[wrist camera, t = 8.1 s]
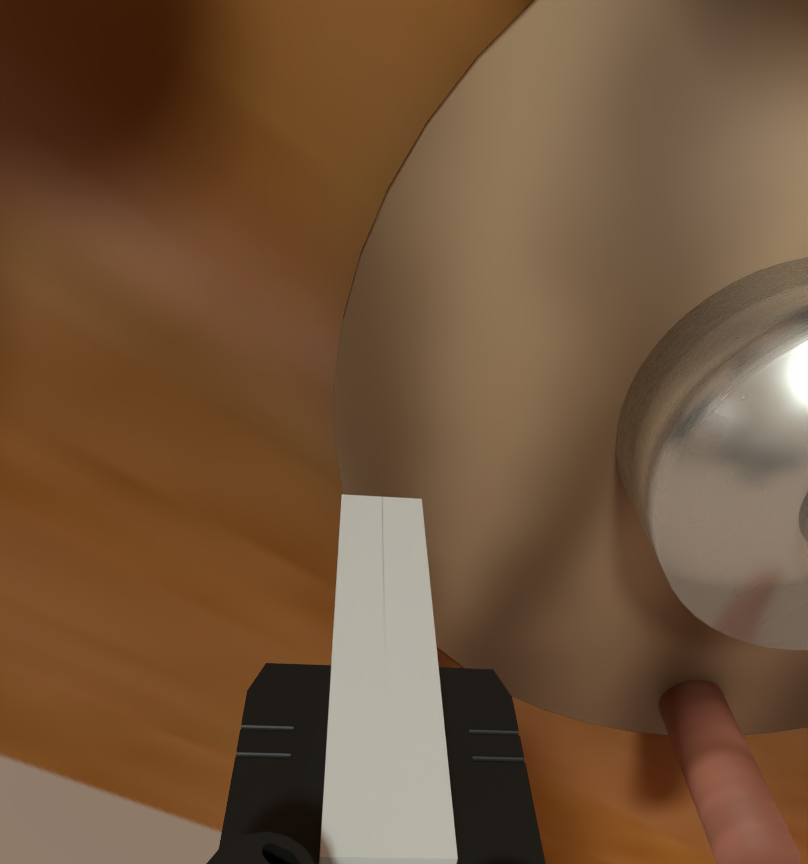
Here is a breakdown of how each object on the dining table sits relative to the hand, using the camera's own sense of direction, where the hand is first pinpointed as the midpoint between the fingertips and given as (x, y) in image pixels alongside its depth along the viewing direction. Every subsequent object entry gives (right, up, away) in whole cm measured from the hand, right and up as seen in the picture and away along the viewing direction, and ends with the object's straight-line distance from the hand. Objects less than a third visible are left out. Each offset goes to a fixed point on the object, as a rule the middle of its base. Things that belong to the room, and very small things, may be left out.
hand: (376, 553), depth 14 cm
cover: (+12, +3, +7) cm, 14 cm away
